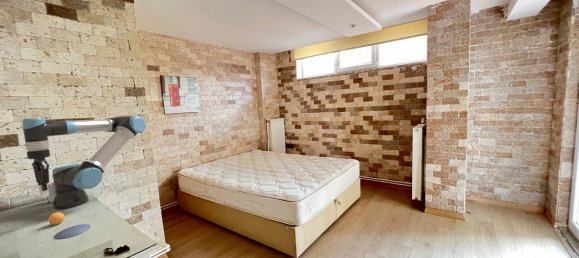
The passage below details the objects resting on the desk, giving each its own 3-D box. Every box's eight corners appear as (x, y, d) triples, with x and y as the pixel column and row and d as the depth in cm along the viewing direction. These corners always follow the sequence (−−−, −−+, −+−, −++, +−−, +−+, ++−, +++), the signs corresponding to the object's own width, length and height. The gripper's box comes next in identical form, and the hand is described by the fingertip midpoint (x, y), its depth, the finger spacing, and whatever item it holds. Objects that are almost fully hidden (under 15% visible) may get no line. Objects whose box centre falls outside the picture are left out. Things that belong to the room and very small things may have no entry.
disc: (64, 227, 107) (64, 227, 107) (95, 222, 111) (95, 222, 111) (46, 241, 96) (46, 241, 96) (82, 235, 99) (82, 235, 99)
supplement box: (55, 203, 138) (52, 184, 137) (47, 202, 139) (44, 184, 138) (66, 199, 144) (63, 181, 142) (59, 198, 145) (56, 181, 144)
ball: (53, 222, 113) (52, 211, 112) (67, 220, 115) (66, 209, 114) (46, 227, 108) (44, 216, 107) (60, 225, 109) (59, 214, 109)
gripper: (21, 150, 112) (29, 197, 114) (31, 151, 106) (39, 201, 108) (43, 147, 118) (50, 192, 120) (54, 149, 112) (60, 195, 114)
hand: (44, 196), depth 114 cm, fingers closed
